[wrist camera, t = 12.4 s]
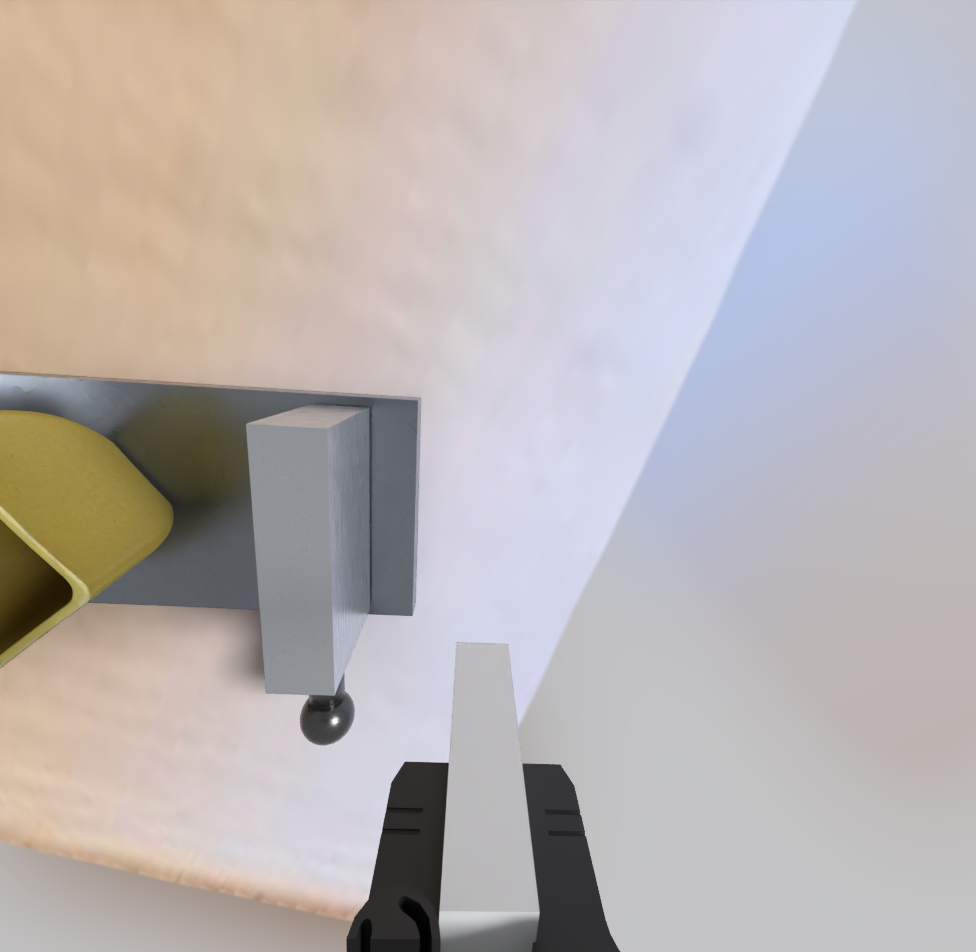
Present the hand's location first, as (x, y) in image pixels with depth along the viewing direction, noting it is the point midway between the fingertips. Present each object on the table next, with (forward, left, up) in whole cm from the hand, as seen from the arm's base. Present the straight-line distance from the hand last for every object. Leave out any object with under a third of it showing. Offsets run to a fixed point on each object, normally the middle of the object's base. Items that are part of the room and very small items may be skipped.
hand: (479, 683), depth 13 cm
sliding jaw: (+3, -8, -13) cm, 15 cm away
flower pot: (0, -20, -13) cm, 24 cm away
